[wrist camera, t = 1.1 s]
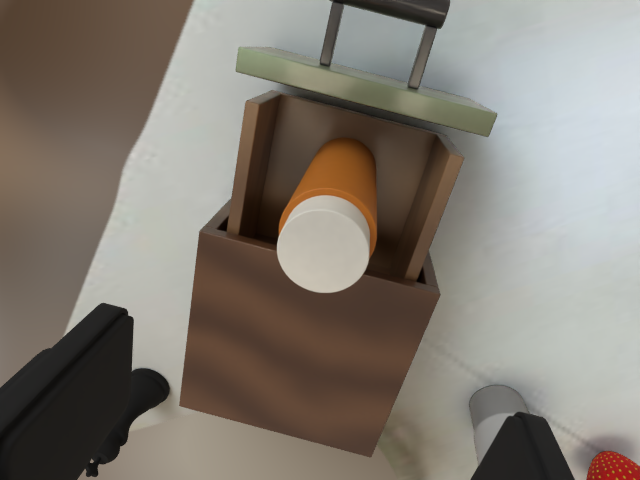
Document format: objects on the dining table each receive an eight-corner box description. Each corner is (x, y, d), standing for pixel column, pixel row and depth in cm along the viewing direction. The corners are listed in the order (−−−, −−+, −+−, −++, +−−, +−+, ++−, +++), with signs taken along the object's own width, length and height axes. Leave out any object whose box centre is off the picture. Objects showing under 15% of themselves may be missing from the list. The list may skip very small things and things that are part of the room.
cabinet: (241, 186, 32) (199, 230, 25) (425, 235, 32) (440, 294, 24) (218, 334, 39) (178, 406, 31) (372, 375, 38) (371, 458, 31)
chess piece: (141, 404, 44) (80, 498, 35) (119, 372, 42) (49, 461, 33) (177, 397, 43) (124, 491, 34) (156, 363, 41) (94, 453, 32)
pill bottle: (303, 149, 29) (252, 220, 17) (365, 128, 28) (357, 187, 16) (324, 207, 30) (292, 309, 18) (384, 189, 29) (390, 285, 17)
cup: (462, 371, 37) (498, 505, 26) (542, 376, 36) (613, 516, 25) (453, 430, 40) (483, 572, 29) (527, 435, 39) (585, 583, 28)
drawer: (282, -34, 25) (252, -60, 19) (498, 22, 25) (538, 13, 19) (239, 231, 33) (208, 273, 27) (404, 274, 33) (411, 327, 27)
